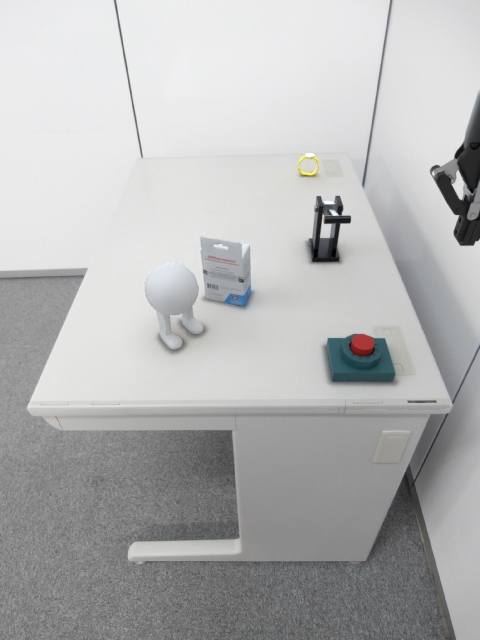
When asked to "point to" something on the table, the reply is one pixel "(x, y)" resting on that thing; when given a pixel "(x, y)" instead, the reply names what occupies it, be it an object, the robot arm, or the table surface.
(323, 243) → the bracket
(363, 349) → the stop button
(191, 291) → the toy character
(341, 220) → the lever
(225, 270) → the ink box
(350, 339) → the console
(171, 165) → the table surface
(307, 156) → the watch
